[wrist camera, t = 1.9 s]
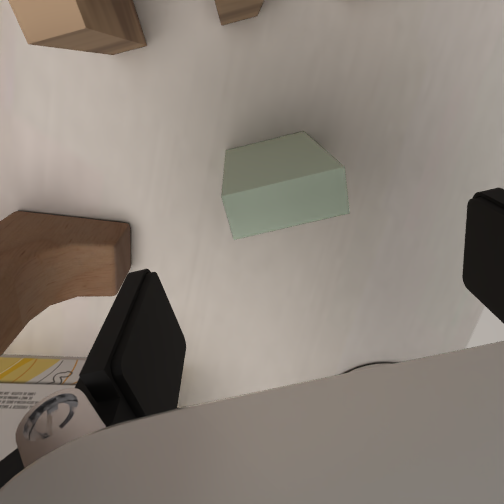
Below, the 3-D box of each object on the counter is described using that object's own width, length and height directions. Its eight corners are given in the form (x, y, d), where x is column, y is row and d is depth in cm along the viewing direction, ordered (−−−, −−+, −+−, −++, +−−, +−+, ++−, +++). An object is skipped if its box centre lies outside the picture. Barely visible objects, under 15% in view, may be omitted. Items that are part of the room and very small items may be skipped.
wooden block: (131, 221, 29) (6, 407, 13) (131, 269, 31) (24, 479, 15) (15, 208, 28) (-274, 391, 12) (23, 258, 30) (-215, 471, 14)
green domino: (303, 131, 26) (344, 166, 17) (308, 162, 28) (349, 213, 18) (225, 150, 27) (221, 196, 17) (233, 180, 28) (233, 240, 18)
